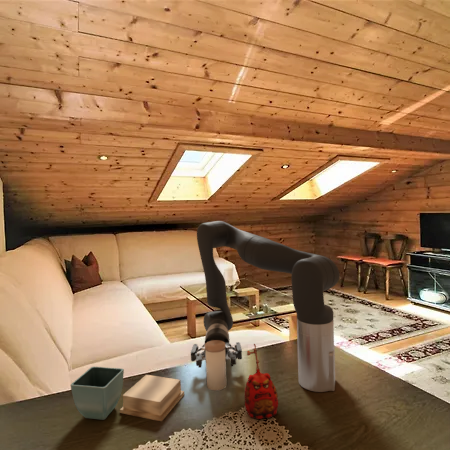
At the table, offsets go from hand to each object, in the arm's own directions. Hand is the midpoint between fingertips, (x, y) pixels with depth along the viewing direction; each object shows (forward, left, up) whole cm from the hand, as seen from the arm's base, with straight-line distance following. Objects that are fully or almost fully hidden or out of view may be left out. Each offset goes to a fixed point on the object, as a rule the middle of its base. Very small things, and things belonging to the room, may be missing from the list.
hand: (215, 363), depth 89 cm
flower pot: (+22, +19, -6) cm, 30 cm away
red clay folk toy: (-14, +8, -6) cm, 17 cm away
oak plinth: (+12, +12, -6) cm, 18 cm away
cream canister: (0, 0, -6) cm, 6 cm away
